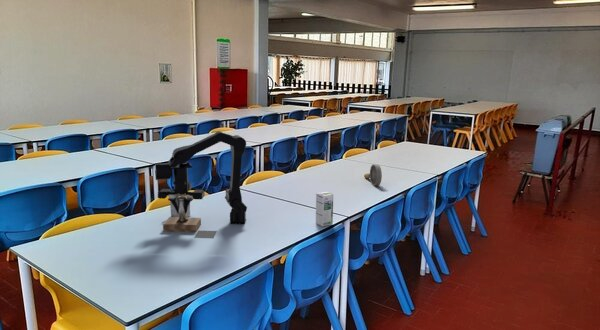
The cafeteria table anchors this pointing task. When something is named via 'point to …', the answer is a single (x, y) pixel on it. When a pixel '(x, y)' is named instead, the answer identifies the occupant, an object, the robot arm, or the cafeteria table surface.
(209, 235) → the mat
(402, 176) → the cafeteria table surface
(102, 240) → the cafeteria table surface
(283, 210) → the cafeteria table surface
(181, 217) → the pin
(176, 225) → the socket block
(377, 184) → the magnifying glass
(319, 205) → the syrup box
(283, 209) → the cafeteria table surface
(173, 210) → the medicine box
